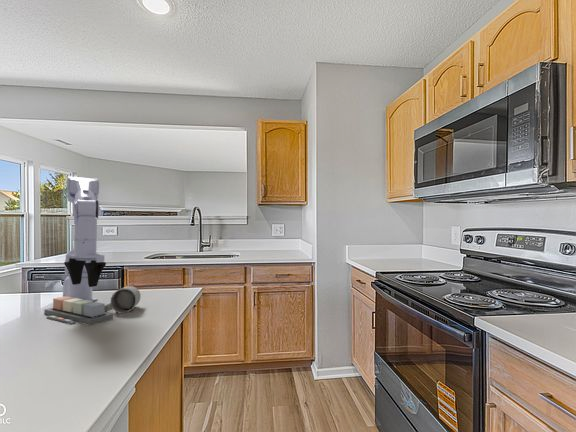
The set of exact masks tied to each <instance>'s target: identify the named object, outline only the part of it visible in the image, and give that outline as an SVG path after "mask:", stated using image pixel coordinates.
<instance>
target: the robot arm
mask: <svg viewBox="0 0 576 432" xmlns="http://www.w3.org/2000/svg"><path fill="white" fill-rule="evenodd" d="M99 194H100V180H99V179H98V178H89V177H80V176H79V177H78V176H77V177H75V176H71V175H70V176H68V177H66V198H67V202H70V203H72V204H73V211H72V212H73V216H72V217H73V221H74V223H73V224H74V239H73V240H74V242H73V243H74V246H73V249H71V250H70V251H68V252H67V253H66V254H65V259H64V262H63V265H64V275H65V276H66V278H65V279H64V280H63V282H62V283H63V284H62V297H64V296H68V297H73V298H78V299H83V300H88V301H93V302H95V301H98V300H99V299H98V298H96V297H93V287H97V286H98V283H99V280H100V277H101V274H102V271H103V270H104V268H105V267H106V266H107V262H105V255H104V254H99V253H97V242H98V241H97V236H98V231H97V230H98V229H97V228H98V219H99V217H100V203H99V200H98V197H99Z"/></svg>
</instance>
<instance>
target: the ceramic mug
mask: <svg viewBox="0 0 576 432" xmlns="http://www.w3.org/2000/svg"><path fill="white" fill-rule="evenodd" d="M141 297H142V296H141V292H140V290H139V289H138V288H137V287H135V286H132V285H128V286H124V287H122V288H119V289H117V290H116V291H114V293H112V296H111V297H110V303H107V304H106V305H105V312H107V311H109V310H114V311H115V312H117V313H119V314H120V313H121V314H124V313H129V312H131V311H133V309H134V308H135V307H136V306H137V305H139V302H140V301H141Z"/></svg>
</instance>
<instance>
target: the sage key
mask: <svg viewBox="0 0 576 432" xmlns="http://www.w3.org/2000/svg"><path fill="white" fill-rule="evenodd" d="M94 302H95V301H88V300H83V301H79V302H74V303H73V313H76V314H81V315H82V314H84V305H85V304H90V303H94Z"/></svg>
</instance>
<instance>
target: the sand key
mask: <svg viewBox="0 0 576 432" xmlns="http://www.w3.org/2000/svg"><path fill="white" fill-rule="evenodd" d="M79 301H83V299H78V298H73V299H68V300H63V311H67V312H73V303H74V302H79Z"/></svg>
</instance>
